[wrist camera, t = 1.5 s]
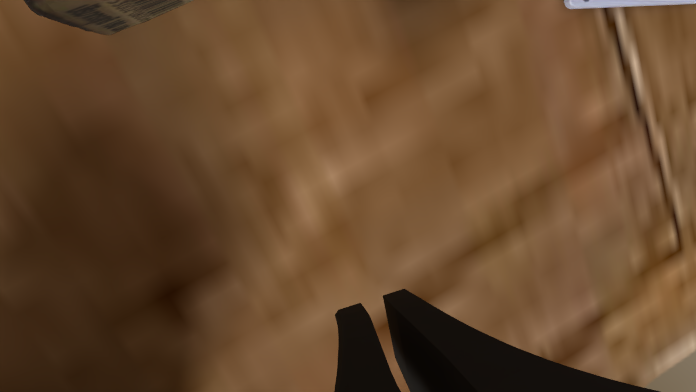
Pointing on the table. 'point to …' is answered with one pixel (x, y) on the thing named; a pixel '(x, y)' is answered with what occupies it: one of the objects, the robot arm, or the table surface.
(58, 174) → the table surface
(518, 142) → the table surface
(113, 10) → the beverage carton
